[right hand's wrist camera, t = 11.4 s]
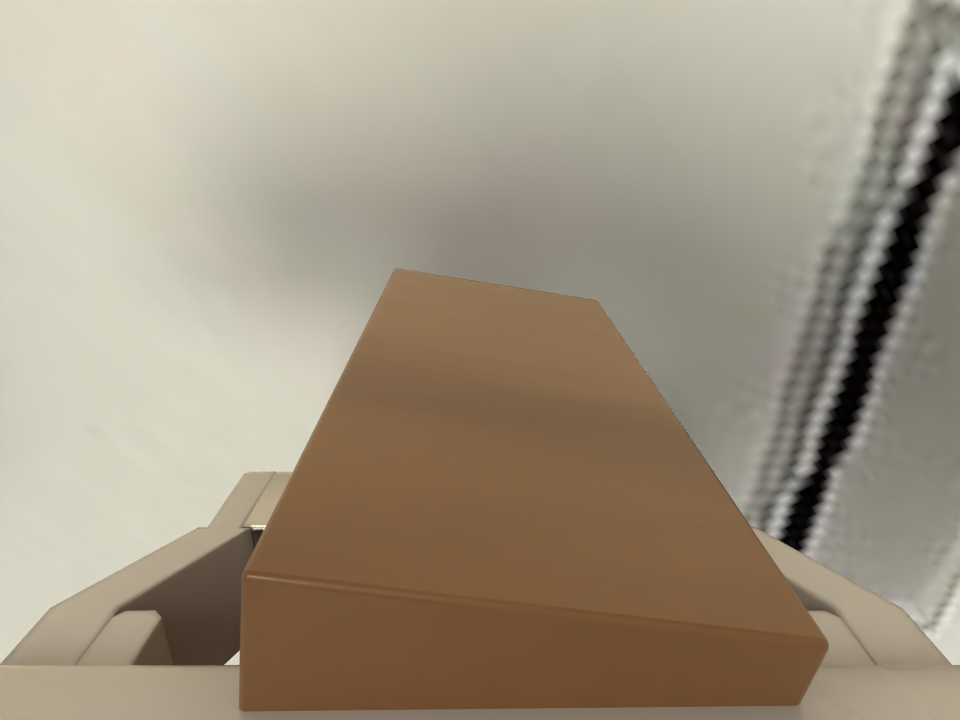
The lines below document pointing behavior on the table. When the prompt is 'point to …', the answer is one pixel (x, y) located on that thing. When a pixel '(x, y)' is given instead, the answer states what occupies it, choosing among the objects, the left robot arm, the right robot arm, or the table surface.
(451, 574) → the bar
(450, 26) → the table surface
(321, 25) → the table surface
